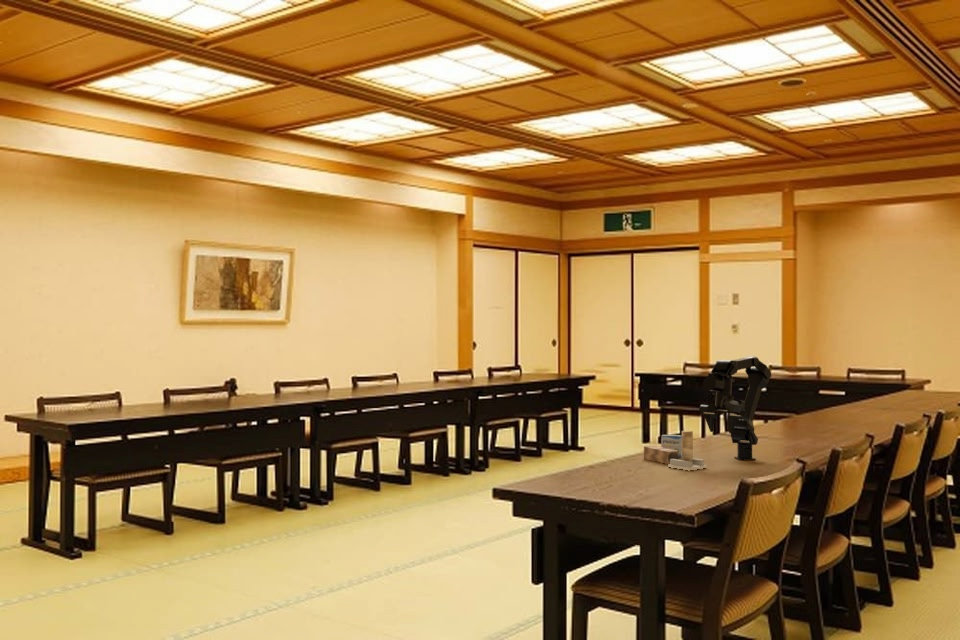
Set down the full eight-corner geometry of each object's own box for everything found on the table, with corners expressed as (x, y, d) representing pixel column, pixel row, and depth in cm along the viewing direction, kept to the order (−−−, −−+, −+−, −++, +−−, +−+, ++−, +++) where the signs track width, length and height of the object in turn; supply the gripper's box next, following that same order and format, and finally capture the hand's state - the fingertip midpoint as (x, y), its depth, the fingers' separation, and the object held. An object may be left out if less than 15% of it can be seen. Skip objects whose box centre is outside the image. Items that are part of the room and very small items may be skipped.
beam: (643, 459, 358) (643, 446, 358) (654, 458, 360) (654, 445, 360) (668, 464, 343) (668, 451, 344) (678, 464, 346) (678, 451, 346)
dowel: (679, 464, 337) (679, 431, 337) (689, 463, 338) (689, 430, 339) (685, 465, 333) (685, 432, 333) (694, 465, 335) (694, 431, 335)
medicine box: (661, 456, 364) (661, 435, 364) (662, 455, 369) (662, 434, 369) (681, 457, 362) (680, 436, 362) (681, 456, 366) (681, 434, 366)
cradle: (685, 465, 343) (685, 456, 343) (706, 468, 335) (706, 459, 335) (667, 467, 337) (667, 459, 337) (688, 471, 329) (688, 462, 329)
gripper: (718, 391, 336) (715, 433, 335) (756, 395, 344) (754, 435, 343) (699, 390, 346) (696, 430, 345) (736, 393, 354) (734, 433, 353)
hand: (721, 432), depth 346 cm, fingers open, 9 cm apart
